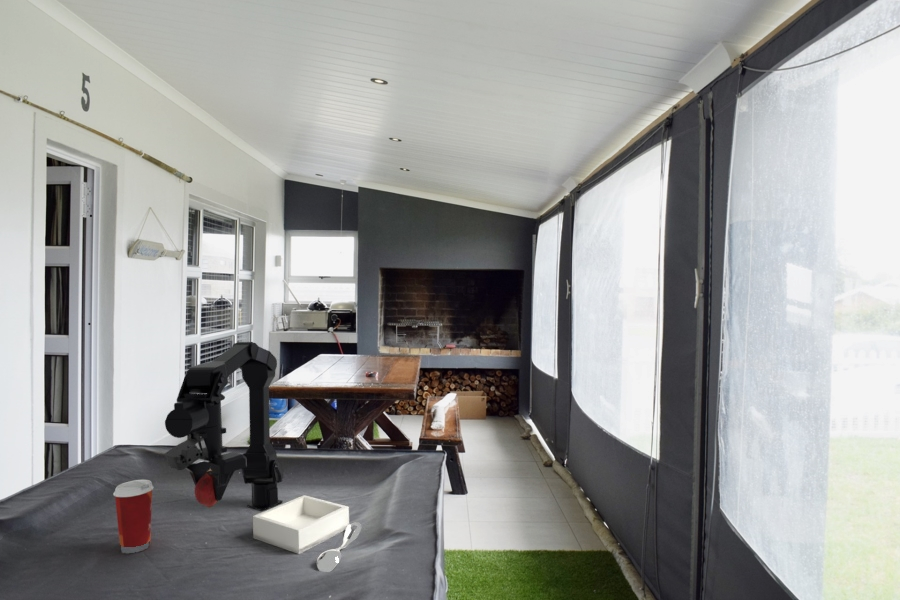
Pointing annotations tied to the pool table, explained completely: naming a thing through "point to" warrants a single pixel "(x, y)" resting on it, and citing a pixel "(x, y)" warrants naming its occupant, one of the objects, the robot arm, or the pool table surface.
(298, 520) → the bin
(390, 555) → the pool table surface
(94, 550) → the pool table surface
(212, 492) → the onion
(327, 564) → the silver metal spoon
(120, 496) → the paper cup
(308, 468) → the pool table surface
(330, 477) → the pool table surface
